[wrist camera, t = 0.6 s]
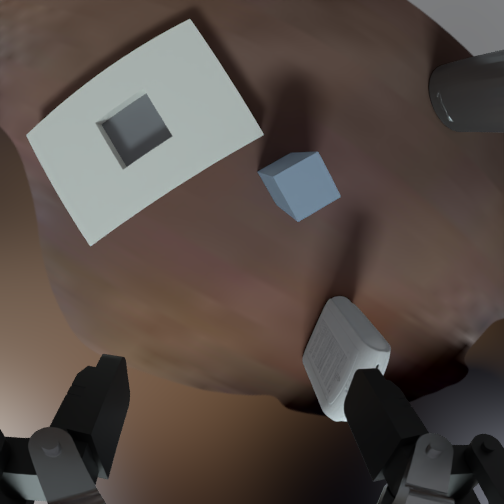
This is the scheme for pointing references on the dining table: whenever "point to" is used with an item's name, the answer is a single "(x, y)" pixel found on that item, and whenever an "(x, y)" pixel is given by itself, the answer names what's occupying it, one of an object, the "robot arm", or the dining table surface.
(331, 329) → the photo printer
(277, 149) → the dining table surface
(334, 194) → the peg
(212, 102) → the socket
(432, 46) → the dining table surface
